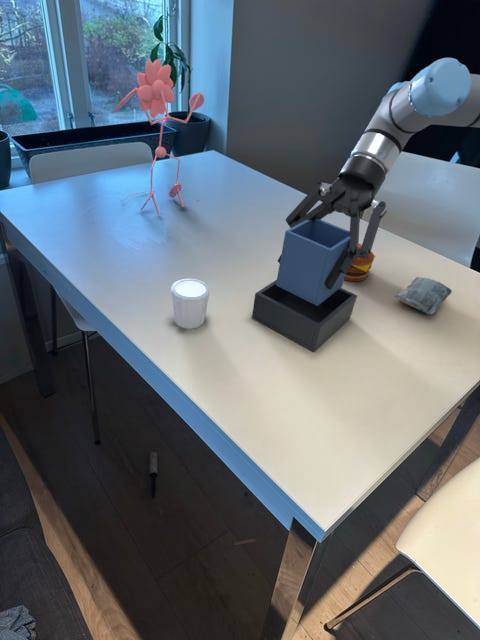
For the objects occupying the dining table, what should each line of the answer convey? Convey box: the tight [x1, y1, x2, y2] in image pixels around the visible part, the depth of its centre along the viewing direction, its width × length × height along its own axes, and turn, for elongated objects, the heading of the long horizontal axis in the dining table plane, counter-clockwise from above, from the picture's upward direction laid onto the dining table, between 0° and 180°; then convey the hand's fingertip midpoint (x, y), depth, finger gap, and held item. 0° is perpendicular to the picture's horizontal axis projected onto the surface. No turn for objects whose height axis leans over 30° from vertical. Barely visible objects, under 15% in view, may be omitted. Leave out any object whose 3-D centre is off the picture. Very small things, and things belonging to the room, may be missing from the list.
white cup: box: [170, 278, 211, 330], centre depth 82 cm, size 7×7×7 cm
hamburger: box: [343, 243, 377, 282], centre depth 102 cm, size 9×10×7 cm
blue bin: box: [276, 219, 351, 306], centre depth 80 cm, size 9×9×11 cm
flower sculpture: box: [111, 58, 205, 217], centre depth 113 cm, size 15×26×35 cm, turn 142°
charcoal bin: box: [251, 279, 358, 353], centre depth 86 cm, size 14×14×6 cm
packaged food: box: [393, 276, 453, 316], centre depth 95 cm, size 9×12×5 cm
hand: (303, 275), depth 79 cm, fingers closed on blue bin, 9 cm apart
